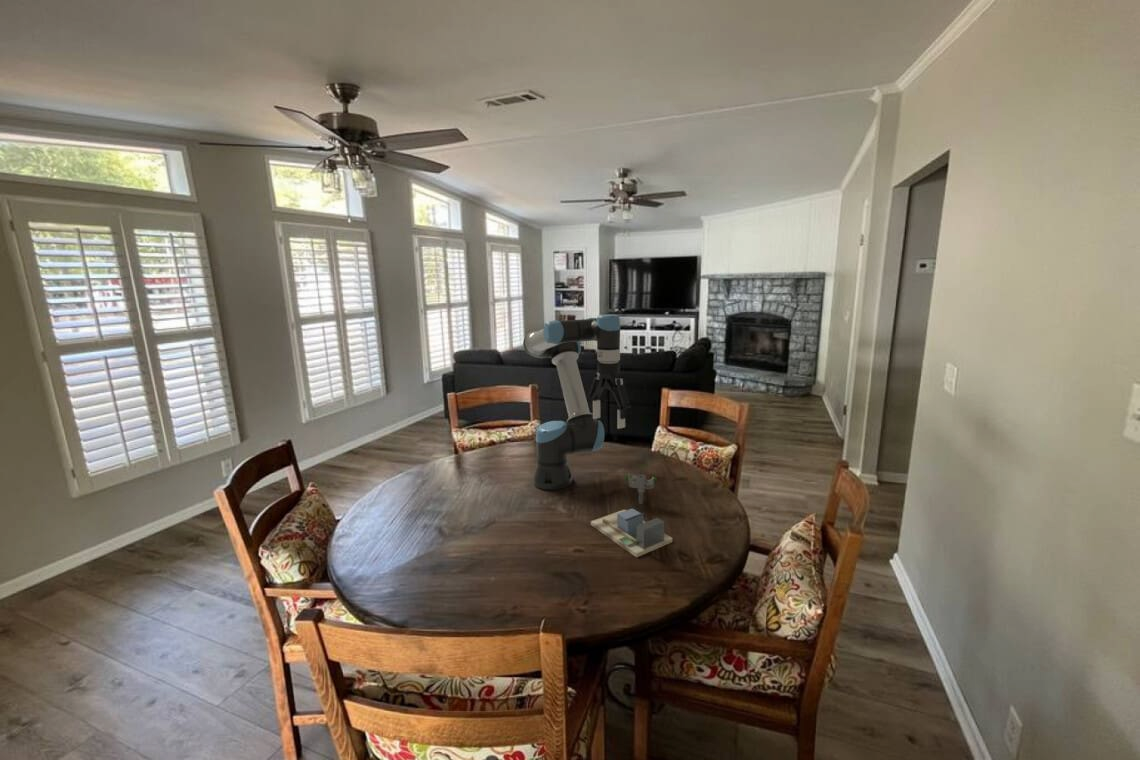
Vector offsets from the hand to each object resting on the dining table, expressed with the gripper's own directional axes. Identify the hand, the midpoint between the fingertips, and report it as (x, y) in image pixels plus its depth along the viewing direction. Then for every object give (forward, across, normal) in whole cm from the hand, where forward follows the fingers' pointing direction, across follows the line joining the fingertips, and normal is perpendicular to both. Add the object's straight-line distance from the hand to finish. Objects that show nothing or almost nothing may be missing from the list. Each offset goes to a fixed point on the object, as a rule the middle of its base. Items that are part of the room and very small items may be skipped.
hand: (608, 422), depth 160 cm
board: (+29, +21, -8) cm, 36 cm away
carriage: (+27, +21, -8) cm, 35 cm away
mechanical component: (+29, +8, +8) cm, 31 cm away
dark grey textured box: (+28, +30, -8) cm, 41 cm away
